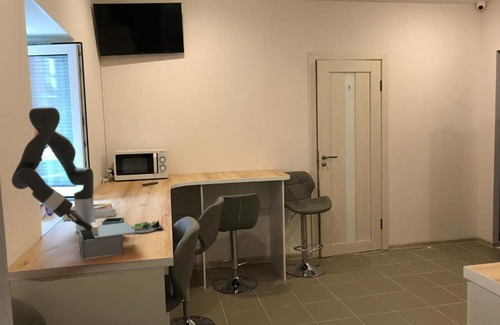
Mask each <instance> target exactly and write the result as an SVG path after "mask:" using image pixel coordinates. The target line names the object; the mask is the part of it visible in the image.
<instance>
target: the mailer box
mask: <svg viewBox="0 0 500 325" xmlns="http://www.w3.org/2000/svg"><path fill="white" fill-rule="evenodd" d="M78 243H79V244H78V245H79V249H80V254H81V256H82V260H83V261H86V260H87V261H88V260H95V259H100V258H107V257H113V256H119V255H120V256H121V255H124V235H120V236H113V237H105V238H97V239H95V238H94V236H93V234H92V232H91V230H90V231H88V230H87V229H85V230H79V232H78Z"/></svg>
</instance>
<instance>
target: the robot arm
mask: <svg viewBox="0 0 500 325" xmlns="http://www.w3.org/2000/svg"><path fill="white" fill-rule="evenodd" d="M28 117H29V121H30V123H31V125H32V127H33V128H34V129H35V130H36V131H37V134H36V135H35V136H34V137H32V139H31V140H30V141H29V142H28V143H27V144H26V145H25V148H24V150H23V153H22V155H21V158H20V161H19V163H18V165H17V167H16V168H15V170H14V172H13V175H12V176H11V184H12V186H13V187H14V188H15V189H18V190H25V189H27V188H29V189H30V190H31V191H32V193H31V195H32V197H33V198H34V199H35V200H36V201H38V202H40V203H41V204H42V205H43V206H44V207H45V208H47V209H48V210H49V211H51V212H52V213H53V214H55V215H56V216H57V217H58V218H62V217H64V215H67V217H68V219H69V220H71V221H72V222H73V223H75V232H77V233H79V230H85V229H87V230H88V231H90V230H91V228H92V226H91V223H92V222H96V223H97V221H96V220H97V219H96V218H95V211H94V180H95V179H94V171H93V170H92V168H91V167H77V166H76V165H75V164H74V161H75V157H76V153H77V152H76V149H75V147H74V144H72V142H71V141H70V139H69V138H67V136H65V135H63V134H61V133H60V132H58V131H56V130H57V128H58V126H59V124H60V120H61V115H60V111H59V109H57V108H56V107H53V106H44V107H34V108H32V109H30V110H29V113H28ZM47 145H48V147H49V148H50V149H51V151H52V153H53V155H54V157H56V159H57V160H58V162H59V163H60V165H61V166H62V168H63V170H64V172H65V174H66V176H67V178H68V180H69V182H70V183H71V184H72V185H73V186H82V189H81V190H80V191H77V192H74V194H73V199H74V200H73V201H74V204H73V202H72V201H70V200H69V199H68V198H66V197H65V196H64V195H63V194H61V193H60V192H58V191H57V190H55V189H54V188H52V187H51V186H50V185H48V184H47V182H46V181H45V180H44V179H43V177H42V176H41V175H40V174H39V173H38V172H37V171H36V170H37V168H38V167H39V165H40V162H41V160H42V157H43V154H44V153H45V149H46V147H47ZM72 206H75V210H71V209H70V208H71V207H72Z"/></svg>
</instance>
